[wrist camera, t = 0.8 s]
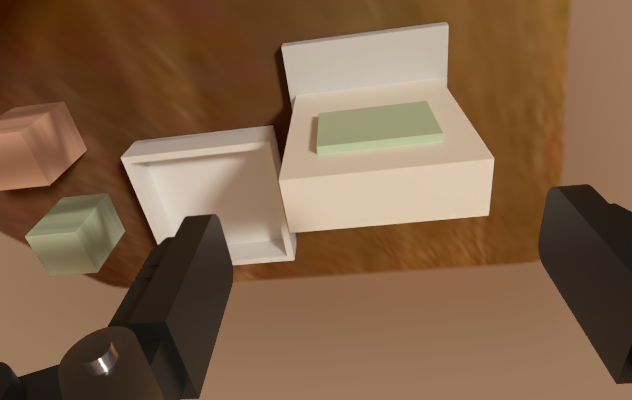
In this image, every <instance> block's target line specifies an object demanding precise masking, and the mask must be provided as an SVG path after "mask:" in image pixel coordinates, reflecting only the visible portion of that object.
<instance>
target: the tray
mask: <svg viewBox="0 0 632 400" xmlns="http://www.w3.org/2000/svg"><path fill="white" fill-rule="evenodd" d="M121 160H122V162H123V164H124V167H125V169H126V171H127V174H128V176H129V178H130V181H131V183H132V185H133V188H134V190H135V192H136V195H137V197H138V199H139V202H140V204H141V206H142V209H143V211H144V213H145V216H146V218H147V220H148V223H149V225H150V227H151V230H152V232H153V234H154V237H155V239H156V241H157V244H158V245H159V244H160V243H161V242H162V241H163V240H164V239H165V238H167V237H174V236H175V234H176V232H177V231H178V229H179V227H180V225H181V223H182V221H183V219H184V218H185V217H186V216H196V215H208V214H216V215H217V216H218V217H219V219H220V222H221V225H222V229H223V232H224V236H225V239H226V243H227V246H228V250H229V253H230V256H231V260H232V265H242V264H254V263H266V262H278V261H291V260H295V251H296V242H297V238H296V233H290V232H289V227H288V223H287V218H286V213H285V208H284V204H283V199H282V194H281V189H280V185H279V176H280V171H281V167H282V164H281V159H280V154H279V149H278V144H277V139H276V134H275V129H274V125H271V126H263V127H254V128H245V129H236V130H228V131H219V132H210V133H201V134H193V135H184V136H175V137H167V138H158V139H149V140H140V141H135V142H134V143H133V144H132V145H131V147H130V148H129V149H128V150H127V151H126V152H125V153H124V155H123V156H122V157H121Z"/></svg>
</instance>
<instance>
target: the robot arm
mask: <svg viewBox="0 0 632 400" xmlns="http://www.w3.org/2000/svg"><path fill="white" fill-rule="evenodd" d="M538 248H539V255H540V259H541V262H542V264H543V266H544V268H545V269H546V271H547V273H548V274H549V276H550V278H551V279H552V281H553V282H554V284H555V286H556V287H557V289H558V290H559V292H560V293H561V295H562V297H563V299H564V300H565V302H566V303H567V305H568V307H569V308H570V310H571V311H572V313H573V315H574V316H575V318H576V319H577V321H578V322H579V324H580V326H581V328H582V329H583V331H584V332H585V334H586V336H587V337H588V339H589V340H590V342H591V344H592V345H593V347H594V348H595V350H596V352H597V353H598V355H599V357H600V358H601V360H602V361H603V363H604V365H605V366H606V368H607V369H608V371H609V373H610V374H611V376H612V378H613V379H614V381H615V382H616V384H623V383H632V212H631V211H629V210H627V209H625V208H623V207H621V206H619V205H617V204H609V203H608V202H607V201H606V200H605V199H604V198H603V197H602V196H601V195H600V194H599V193H598V192H597V191H596V190H595V189H594V188H593V187H592V186H590V185H588V184H583V185H571V186H559V187H552V188H551V189H550V190H549V191H548V194H547V197H546V203H545V208H544V214H543V219H542V224H541V230H540V235H539V242H538ZM135 279H136V281H135V282H133V284H132V285H131V287H130V289H129V290H128V292H127V294H126V296H125V298H124V299H123V301H122V303H121V305H120V306H119V308H118V310H117V311H116V313H115V315H114V316H113V318H112V320H111V322H110V323H109V325H108V327H107V328H103V329H100V330H97V331H95V332H93V333H91V334H89V335H87V336H85V337H84V338H82V339H81V340H80V341H78V342H77V343H76V344H75V345H73V346H72V347H71V349H69V350H68V352H67V353H66V354H65V356H64V357H63V359H62V360H61V362H60V364H59V365H56V366H52V367H49V368H46V369H43V370H40V371H36V372H33V373H30V374H27V375H24V376H21V377H17V376H16V375H15V373H14V372H13V371H12V369H11V368H10V367H9V366H8V365H7V364H5V363H2V362H0V400H180V399H198V398H199V397H200V393H201V390H202V386H203V383H204V380H205V376H206V373H207V369H208V366H209V362H210V359H211V355H212V352H213V349H214V345H215V342H216V339H217V335H218V332H219V328H220V325H221V321H222V318H223V315H224V311H225V308H226V304H227V301H228V298H229V294H230V291H231V287H232V283H233V265H232V260H231V256H230V253H229V250H228V246H227V243H226V239H225V236H224V232H223V229H222V225H221V222H220V219H219V217H218V216H217V215H216V214H208V215H196V216H186V217H185V218H184V219H183V221H182V223H181V225H180V227H179V229H178V231H177V232H176V234H175V236H174V237H167V238H165V239H164V240H163V241H162V242H161V243H160V244H159V245H157V246H156V247H155V248H154V249H153V250H152V251H151V252H150V254H149V256H148V258H147V259H146V261H145V263H144V264H143V269H141V270H140V271H139V273H138V275H137V277H136V278H135Z"/></svg>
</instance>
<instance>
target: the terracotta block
mask: <svg viewBox="0 0 632 400" xmlns="http://www.w3.org/2000/svg"><path fill="white" fill-rule="evenodd" d="M86 151H87V149H86V147H85V145H84V143H83V141H82V138H81V136H80V134H79V132H78V130H77V128H76V126H75V124H74V121H73V119H72V117H71V115H70V113H69V111H68V109H67V107H66V104H65V102H64V101H63V102H55V103H47V104H39V105H31V106H24V107H16V108H13V109H11V110H9V111H8V112H6V113H4V114H2V115H1V116H0V191H1V190H10V189H20V188H29V187H39V186H48V185H51V184H52V183H53V182H54V181H55V180H56V179H57V178H58V177H59V176H60V175H61V174H62V173H63V172H64V171H65V170H67V169H68V168H69V167H70V166H71V165H72V164H73V163H74V162H75V161H76V160H77V159H78V158H79V157H80V156H81V155H82V154H83V153H85V152H86Z"/></svg>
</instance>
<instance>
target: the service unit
mask: <svg viewBox="0 0 632 400" xmlns="http://www.w3.org/2000/svg"><path fill="white" fill-rule="evenodd" d="M448 27H449V25H448V24H447V23H446V22H441V23H433V24H426V25H418V26H411V27H403V28H396V29H388V30H381V31H373V32H366V33H358V34H351V35H343V36H336V37H329V38H321V39H314V40H306V41H299V42H291V43H284V44H282V46H281V48H282V54H283V60H284V66H285V71H286V77H287V83H288V89H289V94H290V100H291V106H292V112H293V113H292V118H291V123H290V128H289V133H288V137H287V142H286V147H285V152H284V157H283V162H282V167H281V171H280V176H279V185H280V189H281V194H282V199H283V204H284V208H285V213H286V218H287V223H288V227H289V232H290V233H296V232H308V231H319V230H330V229H342V228H353V227H364V226H375V225H387V224H398V223H409V222H421V221H432V220H443V219H454V218H466V217H477V216H488V215H489V208H490V198H491V188H492V178H493V168H494V157H493V156H492V154H491V153H490V151H489V150H488V148H487V147H486V145H485V144H484V142H483V141H482V139H481V138H480V136H479V135H478V133H477V132H476V130H475V129H474V128H473V126H472V125H471V123H470V122H469V120H468V119H467V117H466V116H465V114H464V113H463V111H462V110H461V108H460V107H459V105H458V104H457V102H456V101H455V99H454V98H453V96H452V95H451V93H450V92H449V90H448V89H447V61H448Z"/></svg>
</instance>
